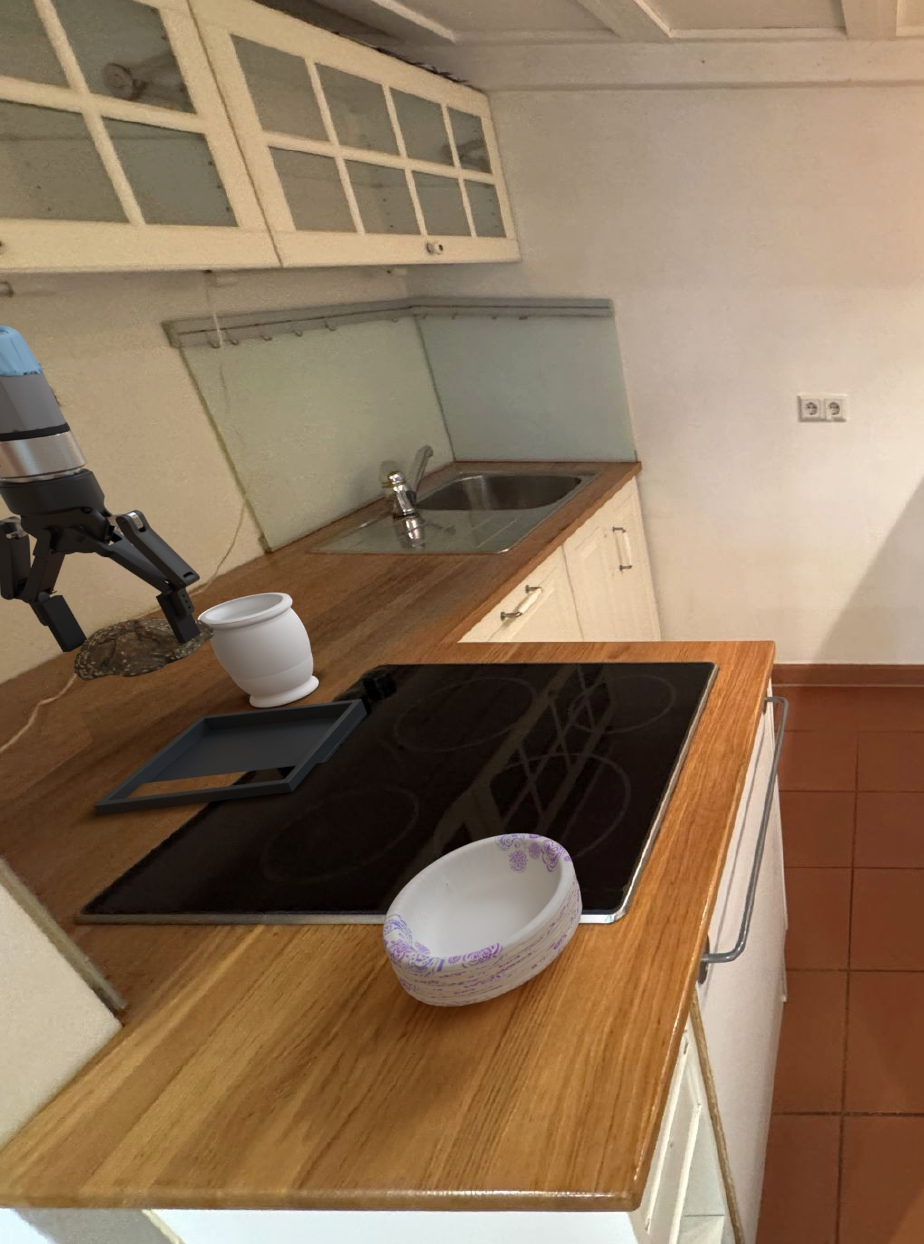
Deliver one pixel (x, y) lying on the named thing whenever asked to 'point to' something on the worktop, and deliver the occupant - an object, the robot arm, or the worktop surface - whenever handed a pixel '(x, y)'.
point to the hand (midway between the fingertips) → (133, 642)
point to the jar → (263, 648)
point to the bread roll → (135, 648)
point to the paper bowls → (483, 919)
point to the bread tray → (240, 753)
